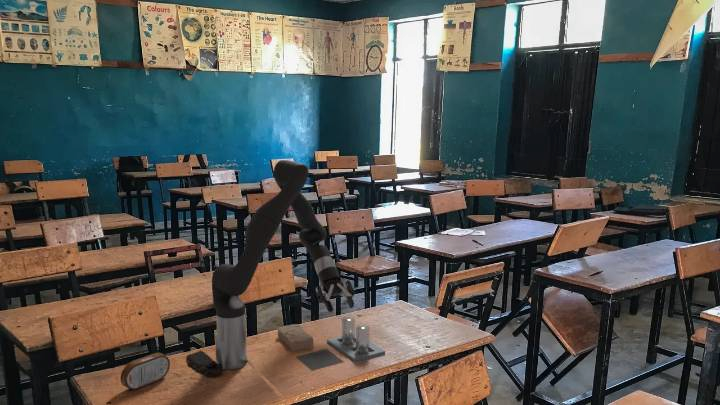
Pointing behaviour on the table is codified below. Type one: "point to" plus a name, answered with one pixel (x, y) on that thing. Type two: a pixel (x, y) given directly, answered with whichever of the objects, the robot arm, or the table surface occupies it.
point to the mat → (319, 359)
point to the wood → (204, 364)
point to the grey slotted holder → (349, 349)
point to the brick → (295, 337)
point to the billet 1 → (348, 331)
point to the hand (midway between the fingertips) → (342, 309)
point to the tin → (145, 371)
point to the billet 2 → (362, 339)
